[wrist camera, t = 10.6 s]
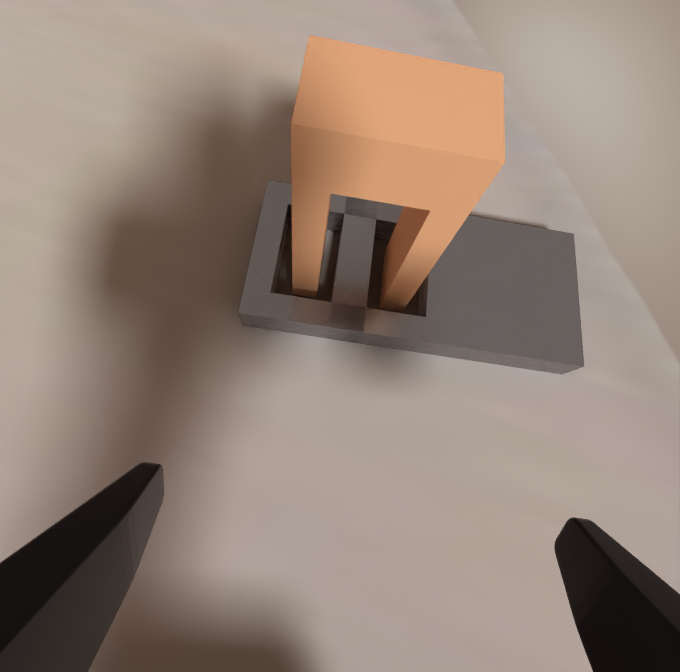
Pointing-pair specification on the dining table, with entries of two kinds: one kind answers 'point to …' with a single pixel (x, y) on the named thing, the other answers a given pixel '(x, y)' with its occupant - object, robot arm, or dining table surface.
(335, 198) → the gray slotted base
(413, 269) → the clip
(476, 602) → the dining table surface
